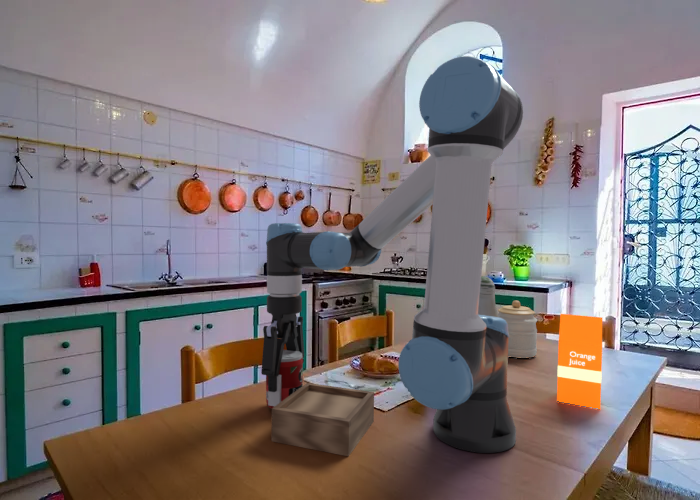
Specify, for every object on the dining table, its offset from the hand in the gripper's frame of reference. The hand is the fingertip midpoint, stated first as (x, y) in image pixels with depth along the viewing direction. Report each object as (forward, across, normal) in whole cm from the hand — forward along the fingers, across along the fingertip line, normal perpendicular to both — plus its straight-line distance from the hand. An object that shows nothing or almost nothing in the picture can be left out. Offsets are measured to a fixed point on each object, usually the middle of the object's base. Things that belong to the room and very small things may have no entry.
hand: (284, 398), depth 93 cm
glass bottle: (+3, -31, +39) cm, 50 cm away
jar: (+3, -67, +49) cm, 83 cm away
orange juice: (+3, -29, +62) cm, 68 cm away
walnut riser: (+2, +7, +13) cm, 15 cm away
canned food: (+1, 0, 0) cm, 1 cm away
